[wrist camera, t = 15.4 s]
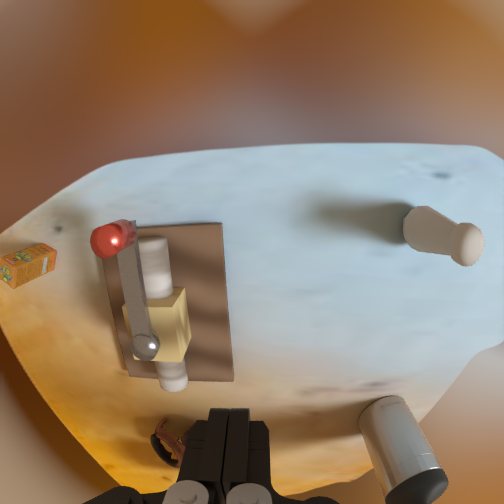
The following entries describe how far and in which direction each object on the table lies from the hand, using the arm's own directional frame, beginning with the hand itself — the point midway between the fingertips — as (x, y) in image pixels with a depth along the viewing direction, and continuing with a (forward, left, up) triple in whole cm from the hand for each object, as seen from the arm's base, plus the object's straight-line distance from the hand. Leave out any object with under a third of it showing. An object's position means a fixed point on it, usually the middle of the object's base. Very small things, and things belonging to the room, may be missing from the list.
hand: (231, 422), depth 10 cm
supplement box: (+1, +30, -27) cm, 41 cm away
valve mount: (-7, +11, -27) cm, 30 cm away
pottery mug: (-31, +12, -27) cm, 43 cm away
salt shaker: (+3, -22, -27) cm, 35 cm away
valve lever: (-1, +11, -18) cm, 21 cm away
